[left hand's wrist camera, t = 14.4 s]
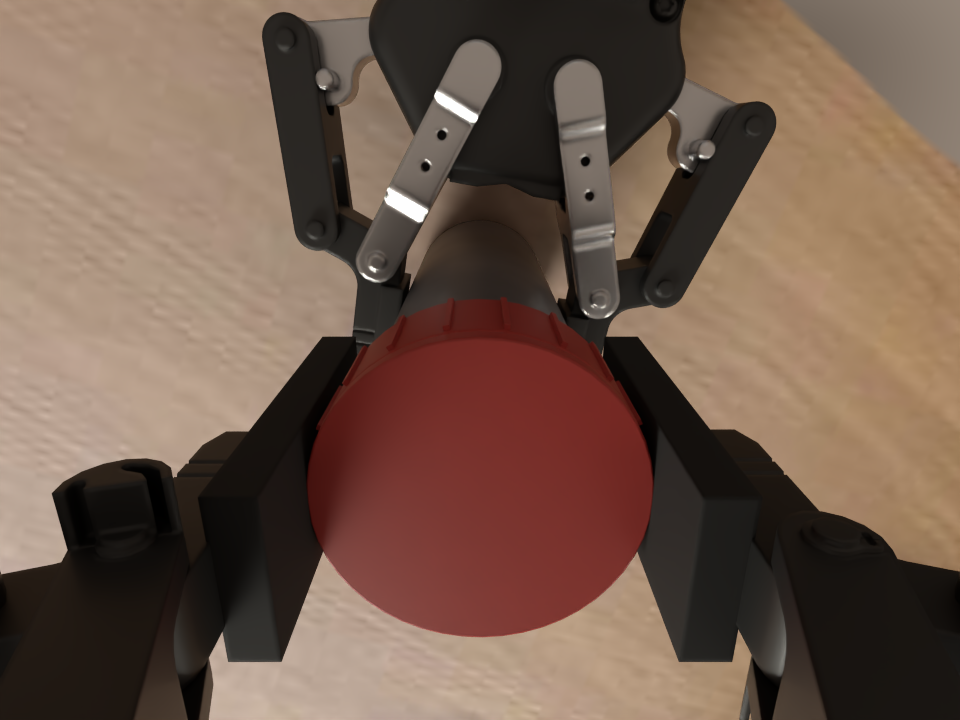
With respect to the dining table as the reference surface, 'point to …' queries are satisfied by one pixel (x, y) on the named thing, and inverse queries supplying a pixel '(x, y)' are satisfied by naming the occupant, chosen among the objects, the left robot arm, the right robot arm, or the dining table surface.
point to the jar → (480, 270)
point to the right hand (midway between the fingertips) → (465, 399)
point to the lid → (480, 471)
